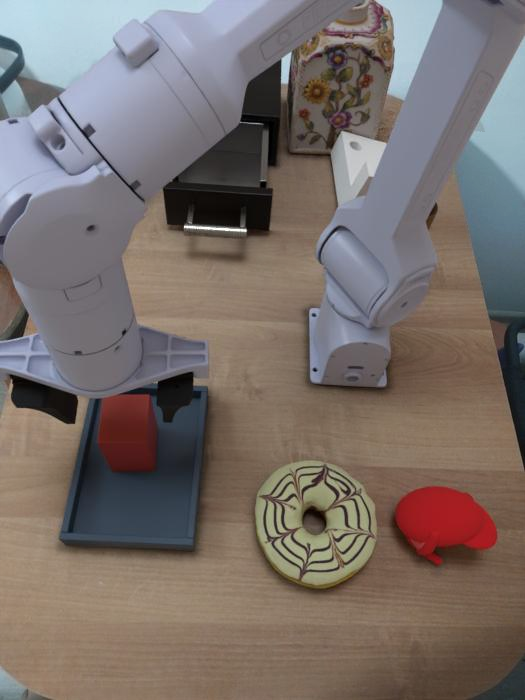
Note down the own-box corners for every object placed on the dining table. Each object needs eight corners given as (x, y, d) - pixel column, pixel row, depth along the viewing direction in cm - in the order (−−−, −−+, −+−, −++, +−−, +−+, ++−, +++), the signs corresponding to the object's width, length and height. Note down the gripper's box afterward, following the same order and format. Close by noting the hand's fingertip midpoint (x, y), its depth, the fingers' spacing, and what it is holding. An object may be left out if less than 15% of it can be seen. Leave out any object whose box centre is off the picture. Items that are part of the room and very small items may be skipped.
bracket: (391, 233, 72) (423, 189, 65) (340, 221, 69) (369, 175, 63) (376, 164, 78) (404, 118, 72) (330, 152, 76) (355, 104, 70)
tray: (194, 550, 49) (193, 545, 47) (64, 545, 48) (58, 539, 47) (208, 395, 57) (207, 385, 55) (97, 389, 56) (93, 379, 55)
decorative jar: (285, 102, 83) (299, -32, 68) (363, 106, 84) (394, -26, 68) (287, 156, 77) (302, 21, 61) (371, 160, 77) (407, 28, 62)
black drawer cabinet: (275, 166, 76) (280, 116, 69) (174, 159, 75) (169, 108, 69) (277, 99, 83) (281, 49, 77) (185, 93, 83) (182, 42, 76)
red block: (155, 470, 52) (146, 441, 46) (111, 471, 52) (96, 442, 46) (158, 427, 54) (150, 394, 48) (116, 427, 54) (102, 394, 48)
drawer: (268, 258, 66) (271, 223, 61) (162, 251, 65) (157, 215, 60) (271, 157, 75) (275, 119, 70) (179, 151, 75) (176, 112, 70)
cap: (386, 557, 50) (405, 541, 44) (390, 492, 53) (407, 470, 48) (477, 574, 49) (506, 560, 44) (475, 507, 52) (502, 487, 47)
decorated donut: (331, 451, 54) (337, 436, 51) (392, 554, 50) (404, 544, 46) (234, 498, 51) (235, 485, 48) (290, 612, 47) (295, 606, 43)
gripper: (207, 264, 36) (211, 368, 48) (-25, 263, 35) (37, 369, 47) (206, 357, 33) (210, 446, 44) (-53, 359, 31) (21, 449, 43)
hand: (121, 412), depth 45 cm, fingers open, 7 cm apart
